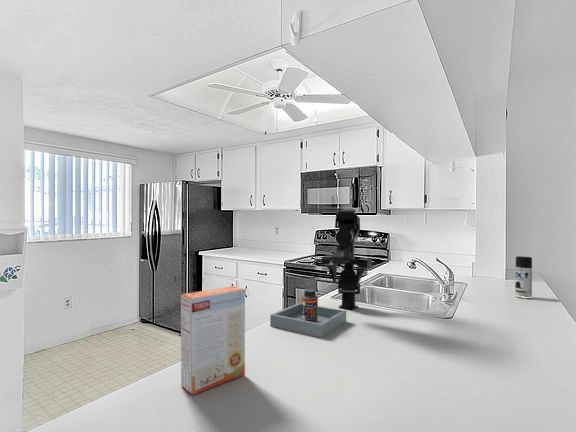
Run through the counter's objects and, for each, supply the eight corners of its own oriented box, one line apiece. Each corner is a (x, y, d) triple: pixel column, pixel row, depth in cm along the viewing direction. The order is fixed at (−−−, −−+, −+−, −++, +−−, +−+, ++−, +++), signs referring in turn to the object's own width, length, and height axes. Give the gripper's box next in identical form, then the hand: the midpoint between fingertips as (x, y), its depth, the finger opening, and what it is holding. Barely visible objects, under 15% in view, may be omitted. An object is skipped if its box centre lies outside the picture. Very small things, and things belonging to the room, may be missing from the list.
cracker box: (231, 367, 84) (232, 284, 84) (245, 375, 80) (246, 288, 80) (179, 385, 75) (180, 292, 75) (191, 396, 70) (192, 297, 70)
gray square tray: (299, 312, 133) (299, 302, 133) (346, 321, 123) (346, 310, 123) (270, 326, 117) (270, 314, 117) (321, 337, 106) (321, 325, 106)
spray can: (511, 296, 167) (512, 256, 167) (524, 295, 167) (524, 256, 167) (522, 299, 160) (522, 257, 160) (535, 299, 161) (535, 257, 161)
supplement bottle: (303, 324, 116) (304, 292, 116) (298, 319, 122) (299, 288, 122) (320, 323, 118) (320, 291, 118) (314, 318, 123) (314, 287, 123)
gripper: (314, 243, 125) (314, 284, 125) (362, 245, 115) (361, 290, 115) (327, 241, 135) (327, 280, 135) (372, 243, 125) (372, 285, 125)
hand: (345, 284), depth 127 cm, fingers open, 9 cm apart
